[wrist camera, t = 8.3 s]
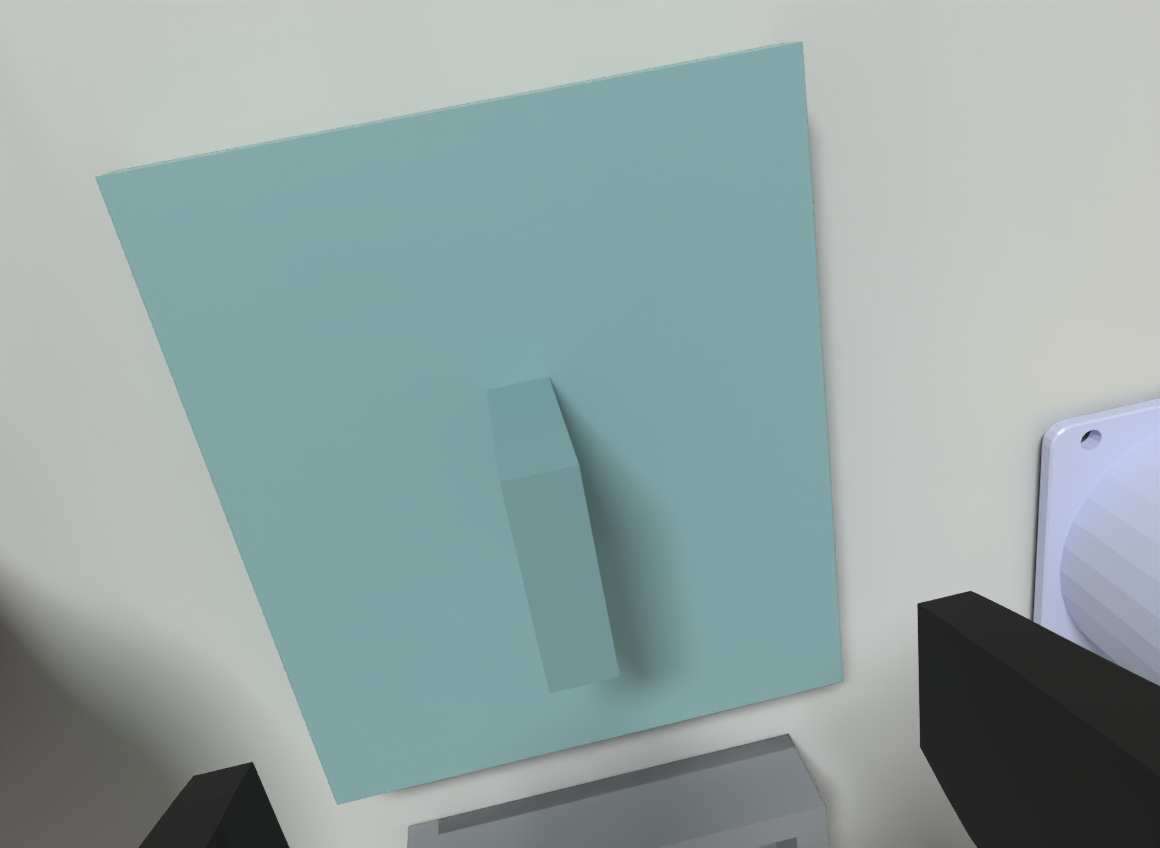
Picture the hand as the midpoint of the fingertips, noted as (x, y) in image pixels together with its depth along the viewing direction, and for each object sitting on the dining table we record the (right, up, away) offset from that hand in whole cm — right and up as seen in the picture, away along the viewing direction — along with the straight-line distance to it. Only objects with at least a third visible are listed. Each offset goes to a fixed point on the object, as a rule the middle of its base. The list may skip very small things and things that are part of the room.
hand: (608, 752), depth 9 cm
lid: (-1, +3, +10) cm, 10 cm away
